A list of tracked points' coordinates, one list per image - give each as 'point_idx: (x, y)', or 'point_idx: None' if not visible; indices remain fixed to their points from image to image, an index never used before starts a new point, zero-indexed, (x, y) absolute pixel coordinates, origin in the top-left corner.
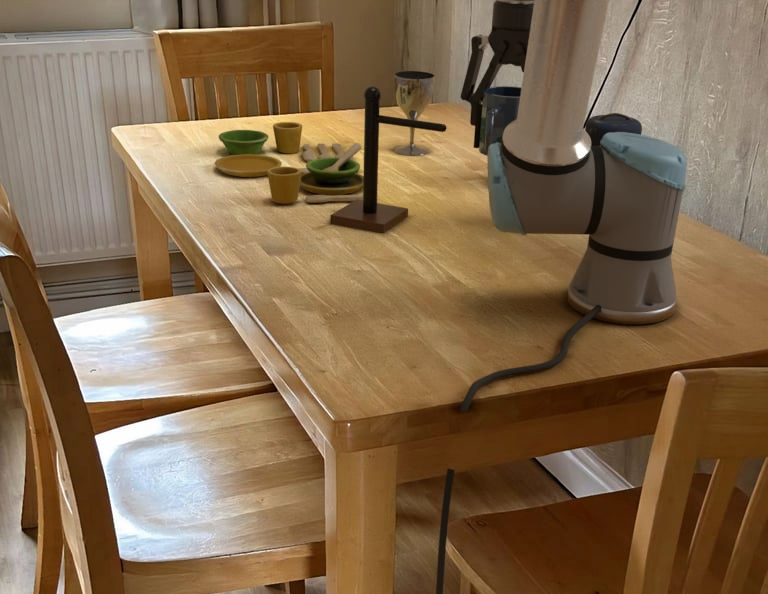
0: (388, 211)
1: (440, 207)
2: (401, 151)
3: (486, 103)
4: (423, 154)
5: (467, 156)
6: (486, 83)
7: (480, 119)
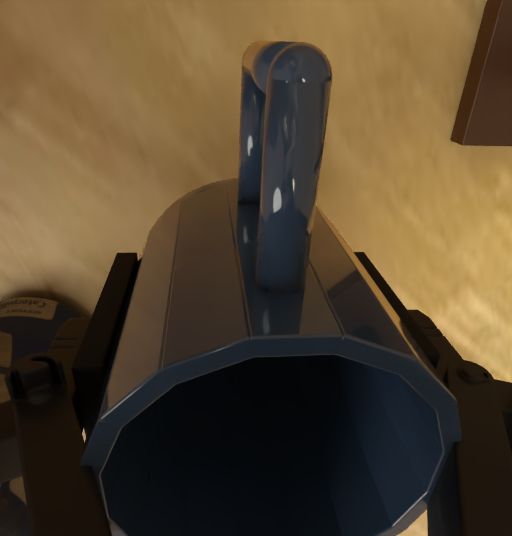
0: (509, 92)
1: (388, 243)
2: None
3: (392, 318)
4: None
5: None
6: (469, 485)
7: None
